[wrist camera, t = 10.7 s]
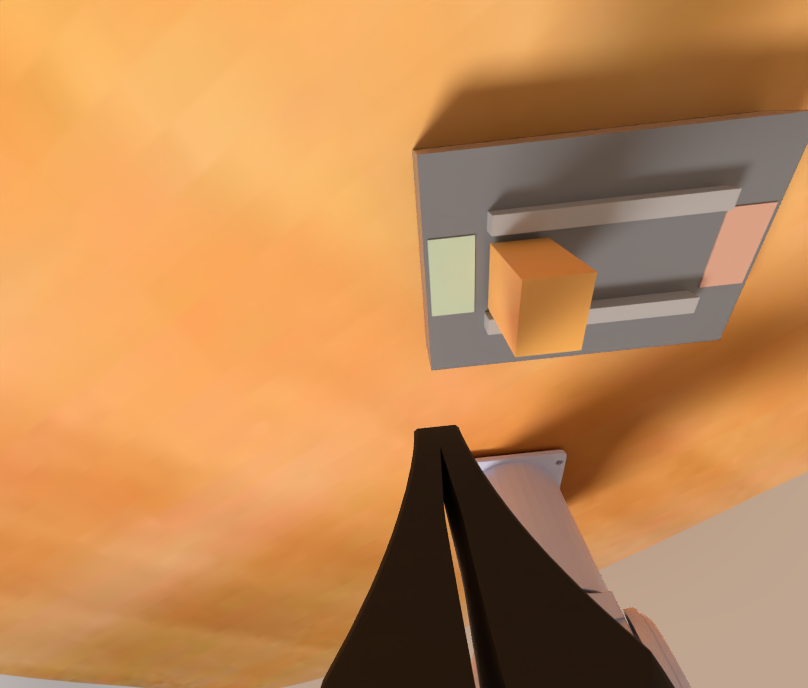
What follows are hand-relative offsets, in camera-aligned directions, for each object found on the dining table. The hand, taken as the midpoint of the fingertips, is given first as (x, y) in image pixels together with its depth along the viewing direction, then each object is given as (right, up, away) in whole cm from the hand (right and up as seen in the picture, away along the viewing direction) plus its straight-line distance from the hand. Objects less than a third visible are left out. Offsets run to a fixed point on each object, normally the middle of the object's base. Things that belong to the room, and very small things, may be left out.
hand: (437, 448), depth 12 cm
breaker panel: (+7, +8, +6) cm, 13 cm away
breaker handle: (+4, +6, +4) cm, 8 cm away
